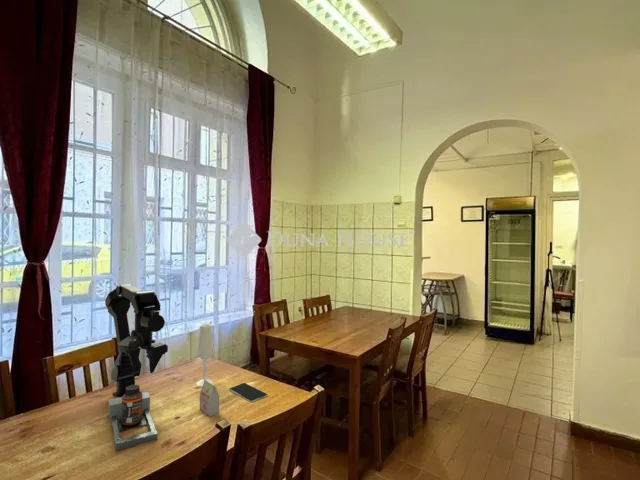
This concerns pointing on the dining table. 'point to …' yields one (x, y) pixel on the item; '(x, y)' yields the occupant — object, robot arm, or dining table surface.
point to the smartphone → (247, 392)
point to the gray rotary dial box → (116, 406)
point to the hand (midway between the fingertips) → (142, 370)
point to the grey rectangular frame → (138, 438)
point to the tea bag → (209, 399)
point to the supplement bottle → (132, 406)
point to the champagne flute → (205, 348)
